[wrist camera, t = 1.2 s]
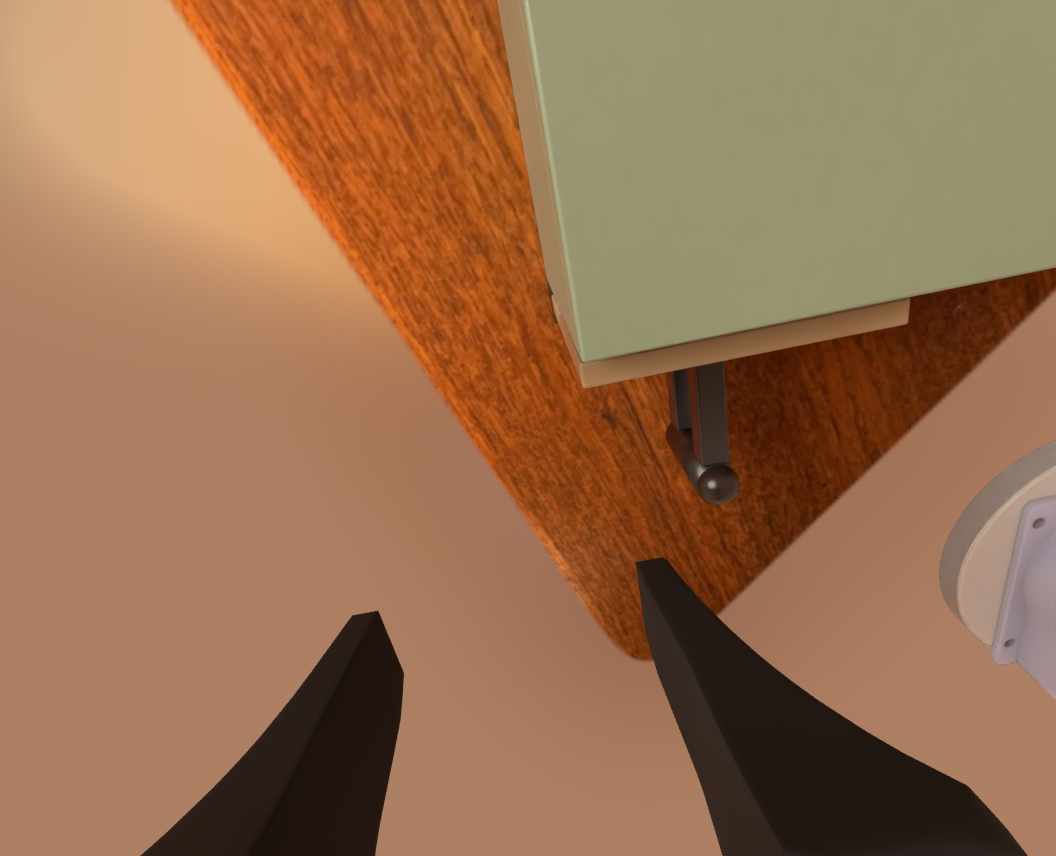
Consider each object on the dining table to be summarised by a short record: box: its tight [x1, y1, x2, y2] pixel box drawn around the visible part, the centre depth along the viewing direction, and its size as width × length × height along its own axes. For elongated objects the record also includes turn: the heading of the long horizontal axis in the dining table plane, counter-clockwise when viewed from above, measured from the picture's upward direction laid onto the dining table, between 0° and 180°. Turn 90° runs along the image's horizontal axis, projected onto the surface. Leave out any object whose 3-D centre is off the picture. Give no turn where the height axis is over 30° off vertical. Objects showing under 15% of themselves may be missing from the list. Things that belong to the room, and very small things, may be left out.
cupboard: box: [497, 0, 1056, 363], centre depth 13 cm, size 11×14×9 cm
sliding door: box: [551, 294, 910, 505], centre depth 16 cm, size 6×7×7 cm
